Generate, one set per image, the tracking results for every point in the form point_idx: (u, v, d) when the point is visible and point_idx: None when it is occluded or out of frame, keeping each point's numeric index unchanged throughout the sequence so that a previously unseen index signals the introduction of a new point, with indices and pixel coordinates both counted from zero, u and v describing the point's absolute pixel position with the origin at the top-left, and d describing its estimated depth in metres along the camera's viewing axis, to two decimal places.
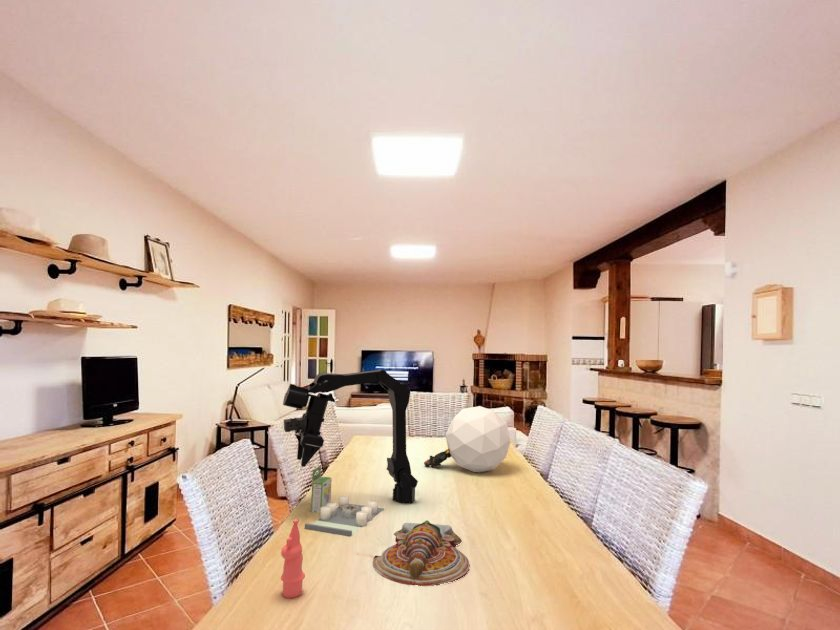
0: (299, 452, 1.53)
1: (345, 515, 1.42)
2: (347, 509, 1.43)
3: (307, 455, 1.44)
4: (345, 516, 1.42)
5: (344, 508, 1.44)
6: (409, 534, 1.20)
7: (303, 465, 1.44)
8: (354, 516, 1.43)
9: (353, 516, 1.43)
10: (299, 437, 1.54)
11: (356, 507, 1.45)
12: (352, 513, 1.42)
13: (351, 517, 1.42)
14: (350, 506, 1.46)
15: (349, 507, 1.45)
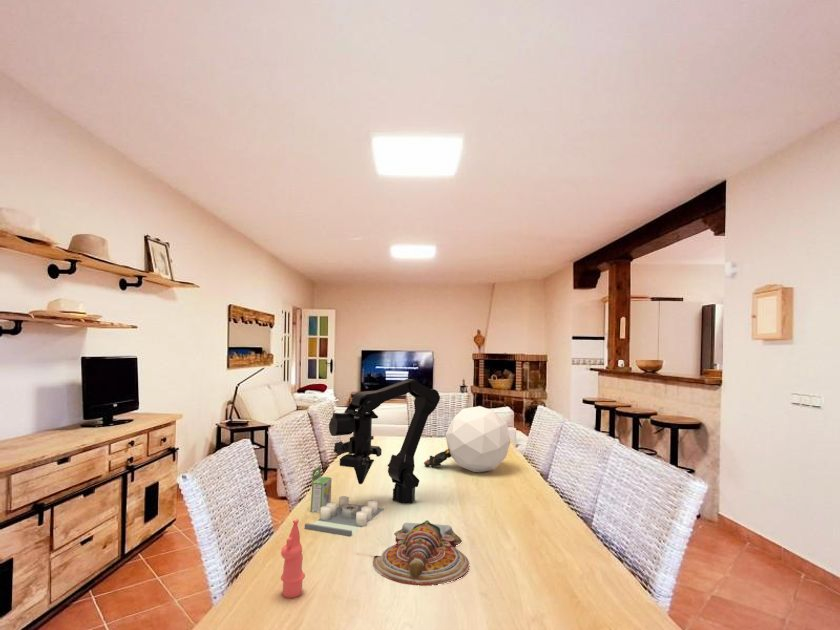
0: None
1: (345, 515, 1.42)
2: (347, 509, 1.43)
3: (359, 473, 1.50)
4: (345, 516, 1.42)
5: (344, 508, 1.44)
6: (409, 534, 1.21)
7: (360, 483, 1.51)
8: (354, 516, 1.43)
9: (353, 516, 1.43)
10: None
11: (356, 507, 1.45)
12: (352, 513, 1.42)
13: (351, 517, 1.42)
14: (350, 506, 1.46)
15: (349, 507, 1.45)
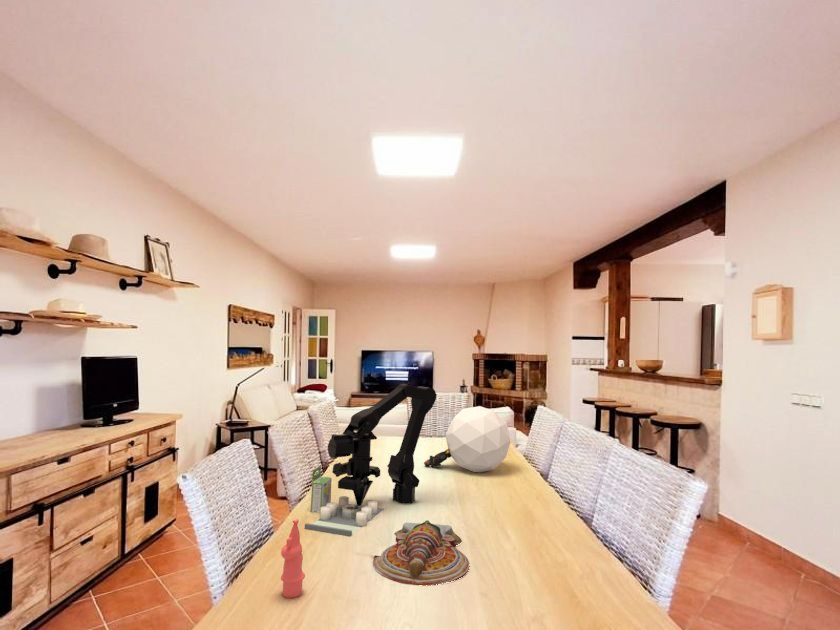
0: None
1: (345, 515, 1.42)
2: (347, 509, 1.43)
3: (358, 495, 1.49)
4: (345, 516, 1.42)
5: (344, 508, 1.44)
6: (409, 534, 1.21)
7: (358, 504, 1.50)
8: (354, 516, 1.43)
9: (353, 516, 1.43)
10: None
11: (356, 507, 1.45)
12: (352, 513, 1.42)
13: (351, 517, 1.42)
14: (350, 506, 1.46)
15: (349, 507, 1.45)
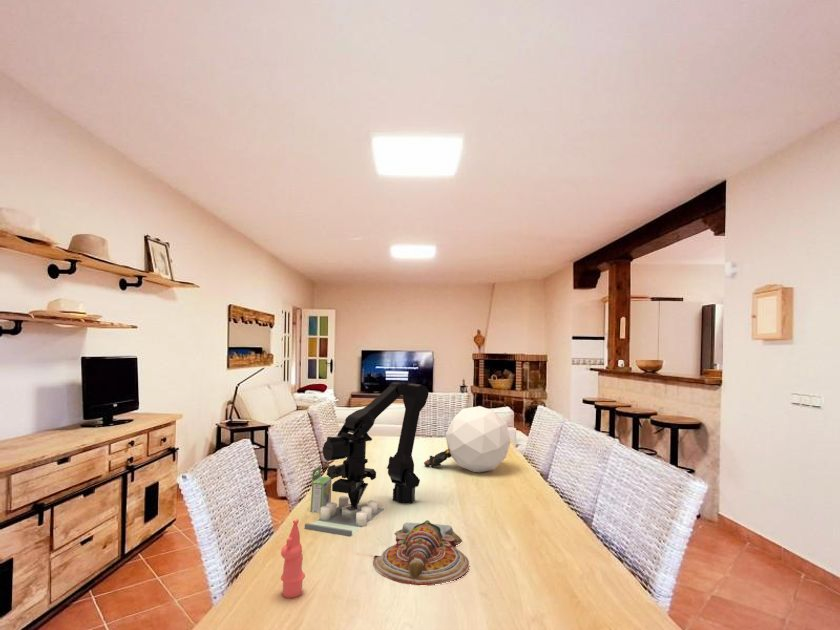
0: None
1: (344, 515, 1.42)
2: (346, 509, 1.43)
3: (353, 497, 1.46)
4: (344, 516, 1.42)
5: (343, 508, 1.43)
6: (409, 534, 1.21)
7: None
8: (353, 516, 1.42)
9: (352, 516, 1.42)
10: None
11: (356, 507, 1.45)
12: (351, 513, 1.42)
13: (350, 517, 1.42)
14: (350, 506, 1.45)
15: (349, 507, 1.44)
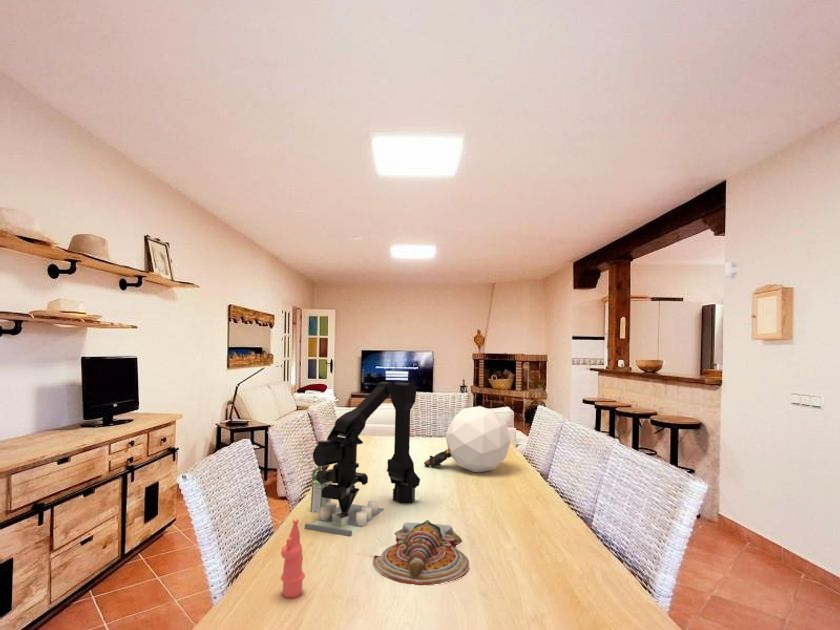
0: None
1: (335, 523, 1.36)
2: (337, 516, 1.37)
3: (343, 503, 1.40)
4: (335, 524, 1.36)
5: (334, 515, 1.37)
6: (409, 534, 1.21)
7: None
8: (345, 524, 1.36)
9: (344, 524, 1.36)
10: None
11: (347, 514, 1.39)
12: (342, 521, 1.36)
13: (341, 525, 1.36)
14: (340, 513, 1.39)
15: (339, 514, 1.38)
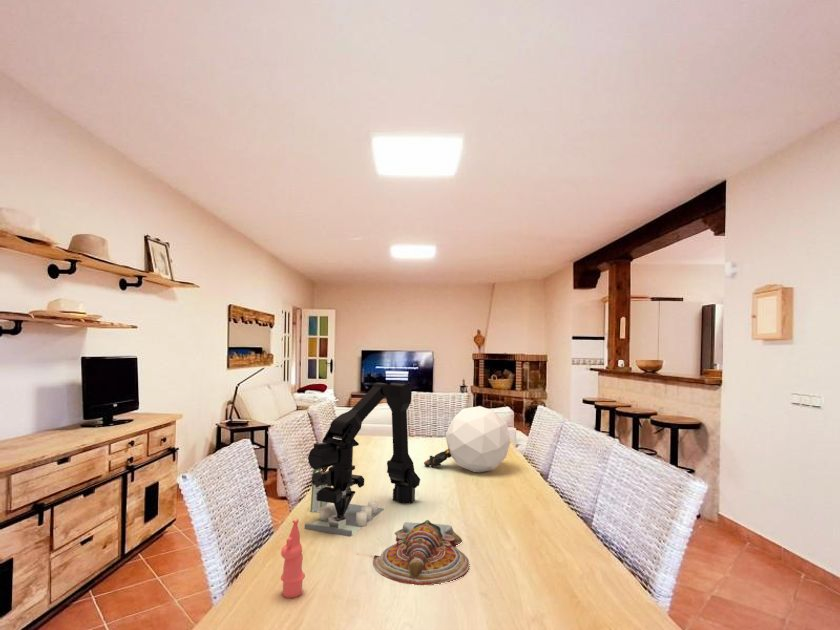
0: None
1: (332, 526, 1.33)
2: (334, 520, 1.34)
3: (339, 507, 1.38)
4: None
5: (331, 519, 1.35)
6: (409, 533, 1.21)
7: None
8: (342, 527, 1.34)
9: (341, 527, 1.34)
10: None
11: (343, 517, 1.36)
12: (340, 524, 1.34)
13: (339, 528, 1.33)
14: (337, 516, 1.37)
15: (336, 517, 1.36)
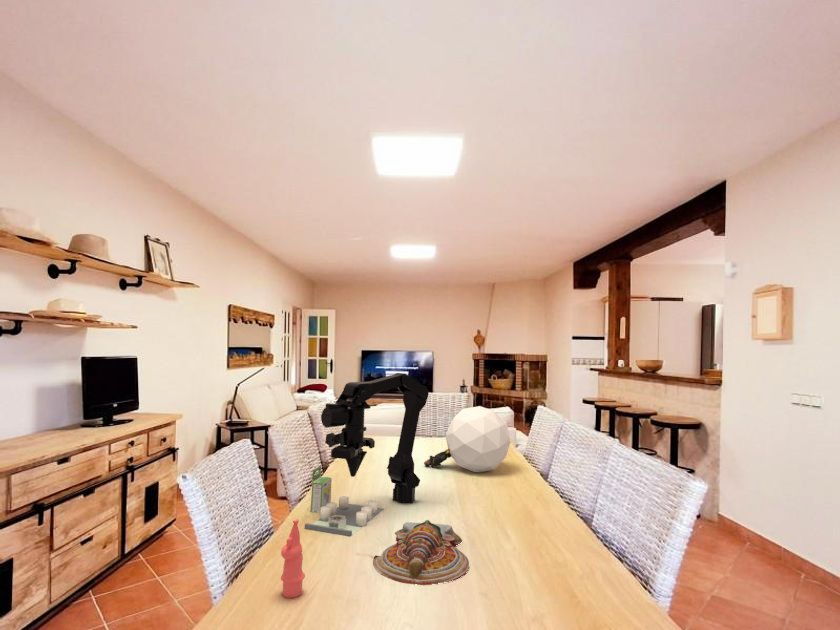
0: None
1: (332, 526, 1.33)
2: (334, 520, 1.34)
3: (352, 465, 1.45)
4: None
5: (331, 519, 1.35)
6: (409, 533, 1.21)
7: (352, 475, 1.46)
8: (342, 527, 1.34)
9: (341, 527, 1.34)
10: None
11: (343, 517, 1.36)
12: (340, 524, 1.34)
13: (339, 528, 1.33)
14: (337, 516, 1.37)
15: (336, 517, 1.36)
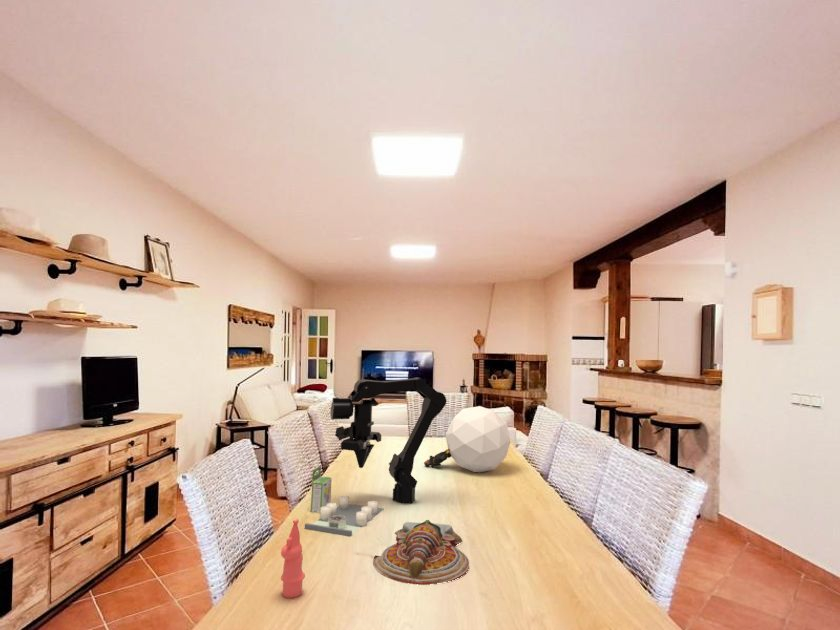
0: None
1: (332, 526, 1.33)
2: (334, 520, 1.34)
3: (360, 457, 1.55)
4: None
5: (331, 519, 1.35)
6: (409, 533, 1.21)
7: (360, 466, 1.56)
8: (342, 527, 1.34)
9: (341, 527, 1.34)
10: None
11: (343, 517, 1.36)
12: (340, 524, 1.34)
13: (339, 528, 1.33)
14: (337, 516, 1.37)
15: (336, 517, 1.36)
